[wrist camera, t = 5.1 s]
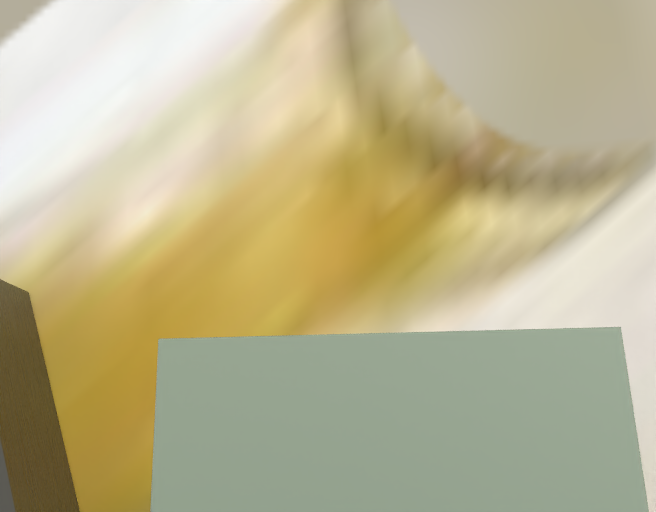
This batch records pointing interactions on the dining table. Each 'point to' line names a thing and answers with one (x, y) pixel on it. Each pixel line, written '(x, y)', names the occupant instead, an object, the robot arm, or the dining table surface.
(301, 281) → the dining table surface
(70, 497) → the track
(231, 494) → the panel
